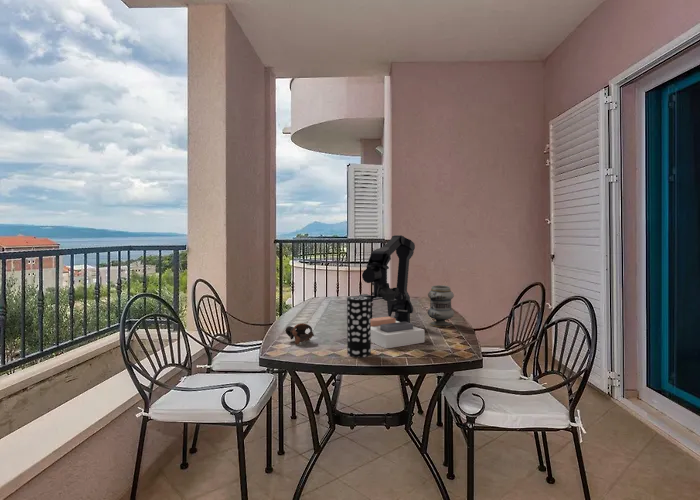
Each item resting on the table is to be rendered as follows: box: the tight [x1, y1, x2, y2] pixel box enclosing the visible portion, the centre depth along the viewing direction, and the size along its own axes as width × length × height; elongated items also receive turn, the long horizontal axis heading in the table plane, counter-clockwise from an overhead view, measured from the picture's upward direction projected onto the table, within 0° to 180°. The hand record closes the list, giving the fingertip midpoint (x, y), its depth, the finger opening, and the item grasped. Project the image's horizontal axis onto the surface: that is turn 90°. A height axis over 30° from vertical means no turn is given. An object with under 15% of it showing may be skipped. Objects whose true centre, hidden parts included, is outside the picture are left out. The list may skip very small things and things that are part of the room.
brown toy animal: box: [285, 323, 315, 346], centre depth 169 cm, size 12×10×8 cm
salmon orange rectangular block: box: [371, 316, 396, 326], centre depth 179 cm, size 12×5×4 cm, turn 118°
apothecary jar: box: [427, 284, 455, 328], centre depth 198 cm, size 12×12×18 cm
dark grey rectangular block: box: [380, 322, 414, 333], centre depth 168 cm, size 12×5×4 cm, turn 118°
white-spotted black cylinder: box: [346, 295, 372, 358], centre depth 152 cm, size 8×8×20 cm
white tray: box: [371, 321, 425, 349], centre depth 174 cm, size 18×24×5 cm
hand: (380, 317), depth 179 cm, fingers open, 9 cm apart
